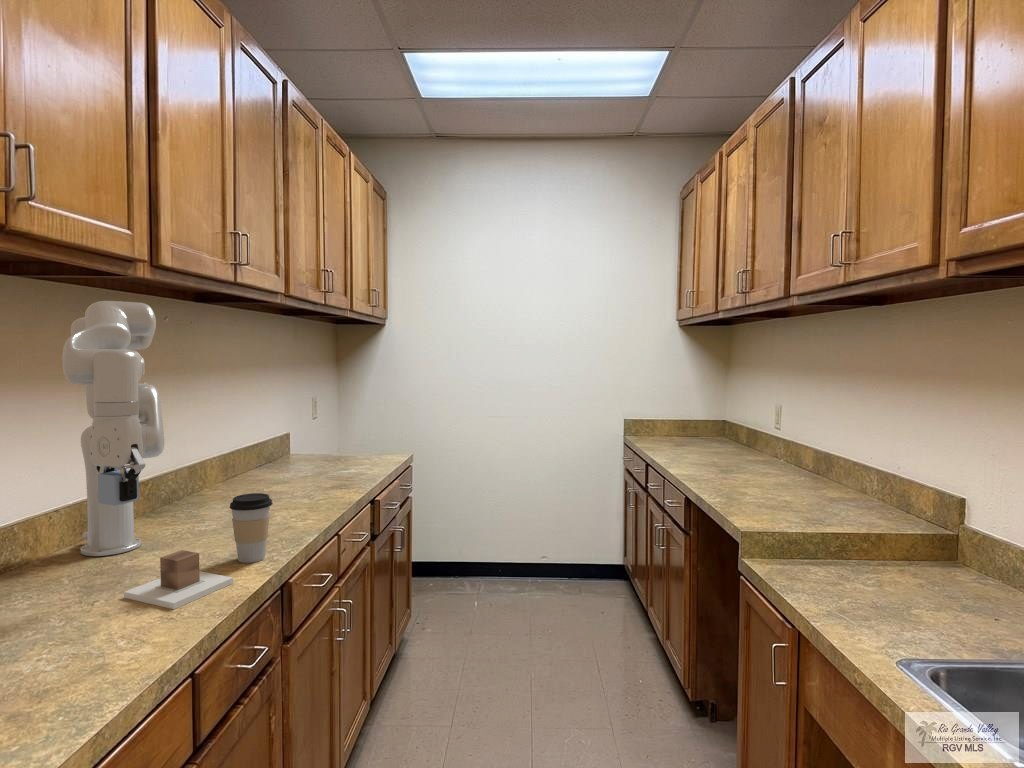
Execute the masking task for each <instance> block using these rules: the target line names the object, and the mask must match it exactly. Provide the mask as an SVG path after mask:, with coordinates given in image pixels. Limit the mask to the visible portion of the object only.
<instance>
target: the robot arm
mask: <svg viewBox="0 0 1024 768" xmlns="http://www.w3.org/2000/svg"><path fill="white" fill-rule="evenodd" d="M156 327H157V318H156V314H155V312H154V310H153V309H152V307H151V306H150V305H148V304H146V303H145V302H137V301H136V302H134V301H121V300H120V301H118V300H116V301H115V300H101V301H95V302H93V303H91V304H90V305H89V306H88V307H87V308H86V310H85V312H84V316H83V317H78V318H77V319H75V320H74V321H73V322H72V323H71V326H70V336H69V337H67V339H66V341H65V343H64V345H63V348H62V371H63V375H64V377H65V380H67V381H68V382H69V383H71V384H73V385H79V386H81V385H82V386H83V385H85V402H86V403H85V404H86V409H87V413H88V416H89V417H90V419H92V423H91V424H92V425H90V426H88V427H86V428H85V429H84V430H83V431H82V433H81V436H80V447H81V453H82V456H83V461H84V466H85V467H84V468H85V476H86V477H85V480H86V481H85V482H86V483H85V484H86V504H87V505H86V506H87V510H86V511H87V512H86V513H87V531H84V532H83V533H82V538H86V540H87V541H86V544H84V545H82V546H81V547H80V554H81V555H84V556H87V557H104V556H113V555H114V556H115V555H117V554H118V555H119V554H123V553H126V552H130V551H132V550H135V549H138V548H139V547H140V546H141V545H142V538H140V537H137V536H135V524H134V522H135V519H134V501H133V502H129V503H125V504H120V505H116V506H113V505H107V504H101V503H99V501H98V474H100V473H106V472H112V471H117V470H120V474H121V479H122V482H119V484H120V501H128V500H132V499H136V498H137V479H138V478H139V477H140V474H141V472H142V471H143V470H144V469H145V468H146V463H145V461H144V459H151V458H157V457H159V456H160V455H161V454H163V451H164V450H165V430H164V422H163V411H162V402H161V396H160V394H159V391H158V389H157V387H155V386H154V385H152V384H149V383H139V382H140V380H141V379H142V377H144V376H145V372H146V371H145V370H146V365H145V359H144V358H143V356H141V354H140V353H139V352H138V350H146V349H148V348H149V347H150V346H151V344H152V341H153V338H154V336H155V332H156V329H157V328H156ZM126 470H129V471H128V473H127V471H126ZM138 475H139V476H138Z"/></svg>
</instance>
